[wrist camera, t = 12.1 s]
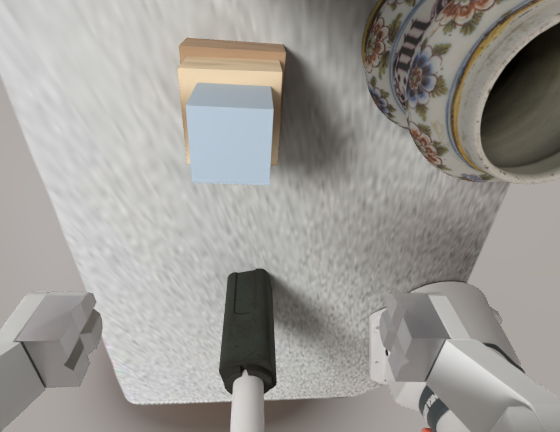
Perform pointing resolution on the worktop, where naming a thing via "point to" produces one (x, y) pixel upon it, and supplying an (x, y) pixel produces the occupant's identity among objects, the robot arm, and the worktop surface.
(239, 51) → the bottom block
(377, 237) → the worktop surface
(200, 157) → the blue cube
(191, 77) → the top block
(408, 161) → the worktop surface
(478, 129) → the apothecary jar
